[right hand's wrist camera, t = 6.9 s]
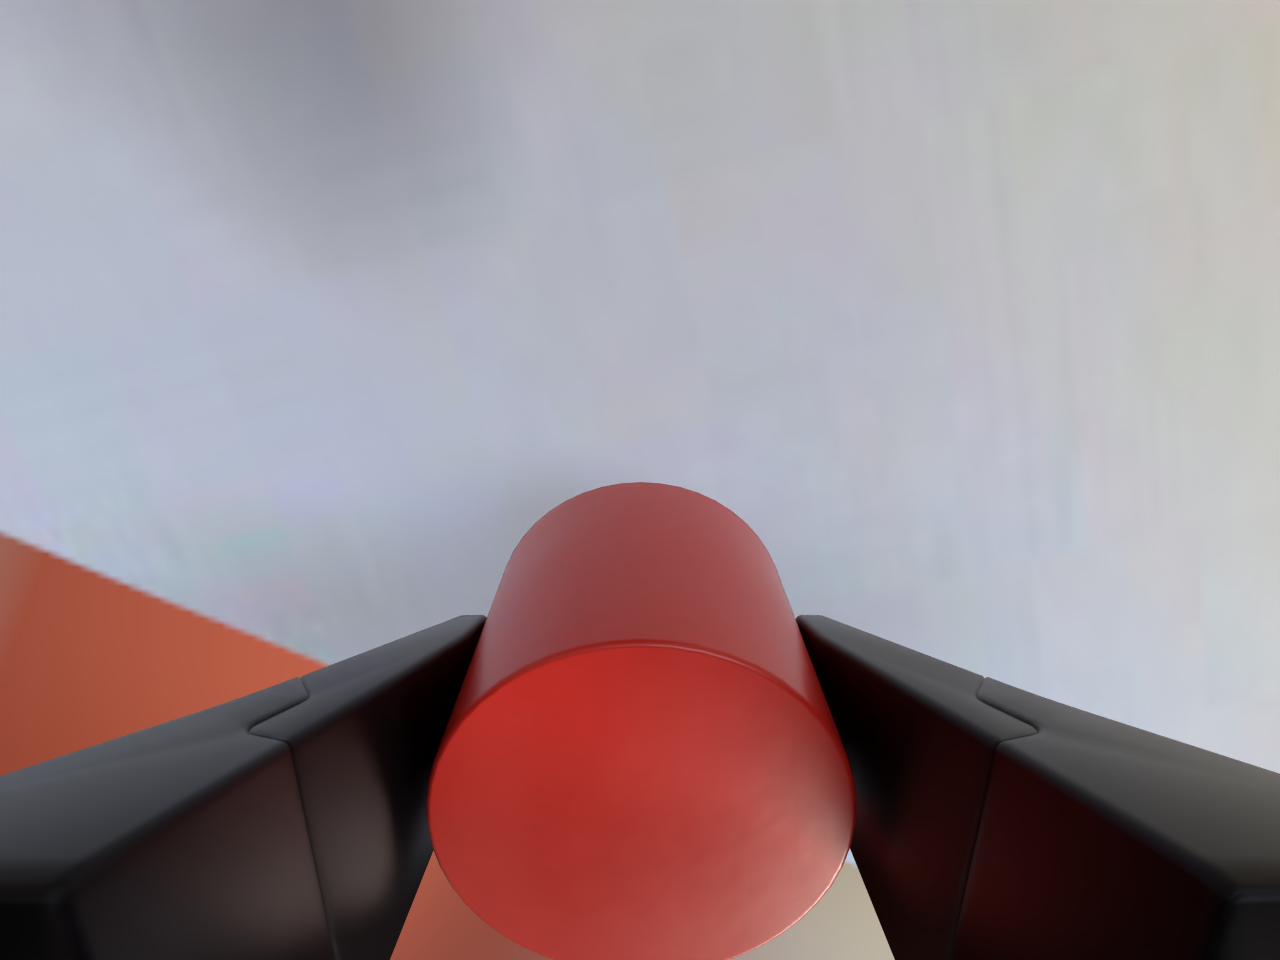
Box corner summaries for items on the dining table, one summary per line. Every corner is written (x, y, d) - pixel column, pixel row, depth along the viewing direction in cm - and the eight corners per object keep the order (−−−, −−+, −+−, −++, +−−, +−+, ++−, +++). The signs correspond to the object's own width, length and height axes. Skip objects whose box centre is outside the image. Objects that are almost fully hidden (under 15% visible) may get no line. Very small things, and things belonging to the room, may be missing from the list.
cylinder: (754, 740, 13) (808, 992, 9) (492, 712, 13) (420, 958, 9) (808, 500, 12) (907, 669, 7) (508, 463, 11) (430, 616, 7)
